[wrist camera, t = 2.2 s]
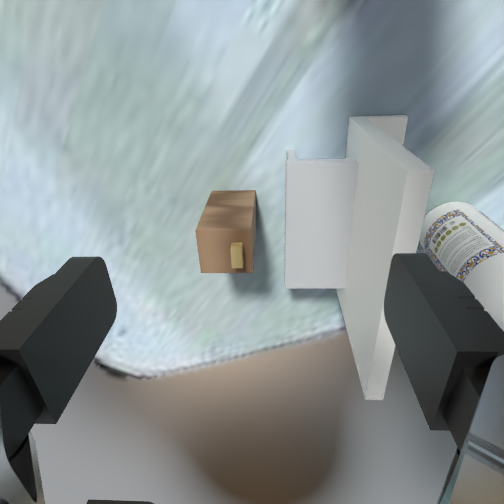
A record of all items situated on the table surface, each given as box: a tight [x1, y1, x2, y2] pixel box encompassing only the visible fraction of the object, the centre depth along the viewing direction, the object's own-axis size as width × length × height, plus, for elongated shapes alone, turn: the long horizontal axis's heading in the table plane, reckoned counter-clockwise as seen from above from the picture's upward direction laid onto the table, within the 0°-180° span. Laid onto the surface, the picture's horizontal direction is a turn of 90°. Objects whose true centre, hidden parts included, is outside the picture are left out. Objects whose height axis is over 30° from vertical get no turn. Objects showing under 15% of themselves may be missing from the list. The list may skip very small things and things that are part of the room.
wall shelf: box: [285, 115, 435, 400], centre depth 33 cm, size 12×20×18 cm, turn 2°
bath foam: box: [419, 201, 504, 329], centre depth 33 cm, size 7×7×20 cm
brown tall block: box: [196, 190, 257, 273], centre depth 37 cm, size 5×5×11 cm
